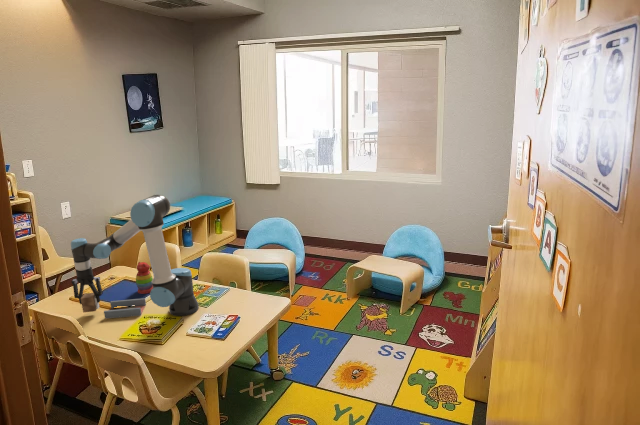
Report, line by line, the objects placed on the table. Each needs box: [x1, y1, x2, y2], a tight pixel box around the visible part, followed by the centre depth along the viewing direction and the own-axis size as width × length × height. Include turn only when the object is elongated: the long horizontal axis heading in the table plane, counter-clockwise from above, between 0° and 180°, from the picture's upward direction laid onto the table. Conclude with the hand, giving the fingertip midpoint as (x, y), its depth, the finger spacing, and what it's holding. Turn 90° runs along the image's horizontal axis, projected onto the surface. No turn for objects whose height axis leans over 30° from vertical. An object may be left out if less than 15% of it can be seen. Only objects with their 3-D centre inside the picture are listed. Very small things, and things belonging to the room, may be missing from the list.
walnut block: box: [81, 292, 98, 313], centre depth 244 cm, size 6×6×8 cm
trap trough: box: [103, 297, 147, 320], centre depth 248 cm, size 18×12×4 cm
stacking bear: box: [135, 261, 154, 295], centre depth 271 cm, size 11×10×18 cm
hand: (91, 308), depth 245 cm, fingers closed on walnut block, 6 cm apart
